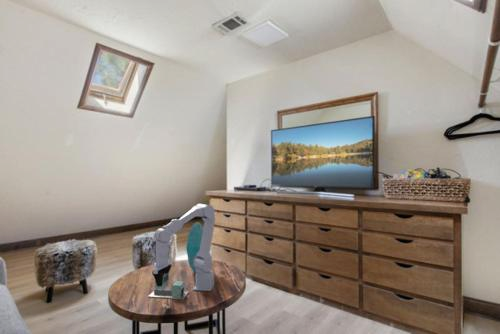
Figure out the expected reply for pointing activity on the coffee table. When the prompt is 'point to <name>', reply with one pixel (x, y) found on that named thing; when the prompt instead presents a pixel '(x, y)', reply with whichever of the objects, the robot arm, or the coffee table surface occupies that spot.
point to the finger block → (164, 283)
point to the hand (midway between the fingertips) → (162, 283)
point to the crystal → (194, 243)
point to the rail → (171, 292)
